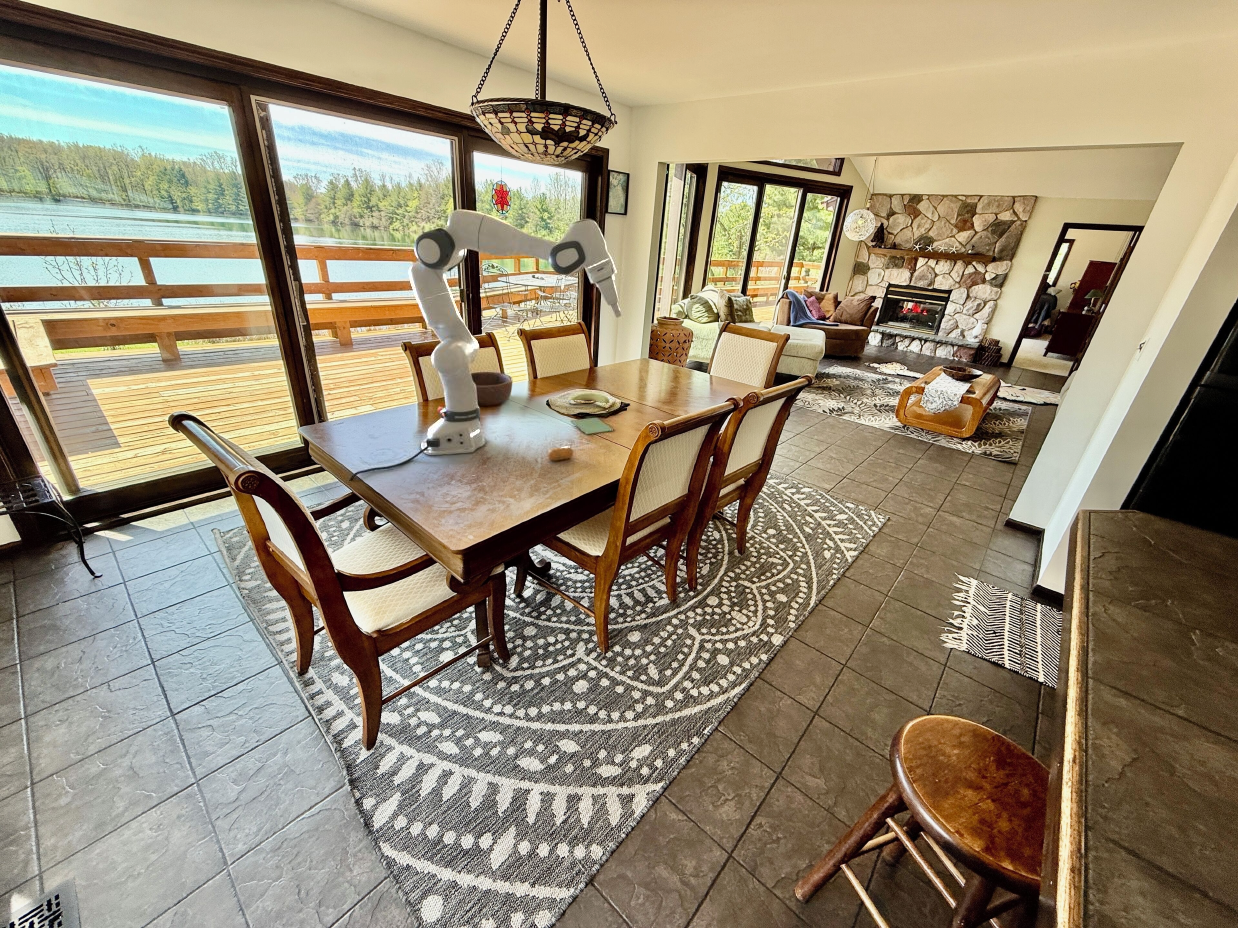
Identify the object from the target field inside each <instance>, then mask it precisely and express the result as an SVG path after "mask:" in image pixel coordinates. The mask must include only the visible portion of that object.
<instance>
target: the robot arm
mask: <svg viewBox="0 0 1238 928" xmlns="http://www.w3.org/2000/svg"><path fill="white" fill-rule="evenodd" d="M467 250H472V251H474V252H475V251H476V252H479V253H482V254H486V255H489V256H497V257H510V256H527V257H532V258H534V259H539V260H542V261H545V262H549V265H550V267H551V269H552V270H553V271H554V272H555V273H556V274H559V275H561V276H569V275H573V274H574V275H575V274H578V273H580V272H581V271H582V270H583V269H584V270H585V272H586V274H587V277H588V279H589V282H590V284H591V285H592V284H595V286H596V288H598V290H599V292H600V294H601V295H602V297H603V299H604V301H605V302H606V304H607V305H608V306H610V307H611V310H612V311H613V314H614V316H615V317H616V318H620V317H621V316H622V313H621V310H620V307H619V304H618V302H620V301H619V296H618V291H617V288H616V285H615V280H616V278H615V274H617V269H616V267H615V264H614V261H613V259H612V257H611V255H610V253H609V252H608V249H607V243H606V241H605V238H604V235H603V233H602V231H601V229H600V227H599V225H598V223H597V222H596V221H595V220H594V219H591V218H584V219H580V220H576V221H573V222H572V223H570V225H569V228H568V229H567V231H566V232H565V234H564V235H563V237H561V239H560V240H559V241H553V240H549V239H545V238H542V237H539V236H535V235H532V234H529V233H528V232H525V231H523V230H521V229H520V228H518V227H516V226H514V225H512V224H510V223H508V222H507V221H505V220H504V219H503V220H502V218H501V219H500V218H498V217H496V216H493V215H490V214H487V213H484V212H480V211H476V210H468V209H455V210H453V211H452V212H451V213H450V214H449V216H448V219H447V224H446V227H445V228H443V227H438V228H434V229H431V230H430V229H429V230H427V231H424V232H423V233H421V234H420V235H419V236H418V237H416V239H415V242H414V245H413V251H414V255H415V257H416V259H417V261H415V262H414V263H412V265H410V267H409V269H408V275H409V280H410V285H411V287H412V292H413V294H414V296H415V299H416V303H417V304H418V307H419V309H420V311H421V314H422V317H423V319H424V320H425V323H426V325H427V326H428V328H430V329H431V330H432V331H433V332H434V334H435V335H436V337H437V338H438V340H439V341H440V343H439V344H437V345H436V346H435V348H434V350H433V352H432V353H431V357H430V358H431V359H430V360H431V364H432V367H433V368H434V369H435V371H436V372H438V376H439V378H440V381H441V385H442V388H443V394H444V395H443V396H444V403H445V406H444V407H443V406H438V408H437V412H438V413H439V414H440V418H439V419H438V420H437V421H435V422H434V423H433V424H432V425H431V426H429V427H428V429H427V432H426V438H424V439H423V440H422V441H421V444H420V448H421V450H420V451H418V452H417V453H415V454H414V455H413V456H411V457H409V458H408V459H406V460H404V461H402V462H399V463H396V464H392V465H387V466H377V467H372V468H371V467H370V468H367V469H363V470H359V471H356V472H354V473H353V474H352V475H351V476H350V477H349V479H348V481H349V482H351V481H353V480H354V478H355V477H356V476H357V475H360V474H364V473H368V472H369V473H370V472H374V471H379V470H388V469H392V468H393V469H394V468H398V467H399V466H402V465H405V464H407V463H410V461H413V460H414V459H416V458H417V457H419V456H420V455H421V454H422V453H424V454H425V455H428V456H440V455H442V456H443V455H453V454H454V455H455V454H467V453H468V454H469V453H470V454H471V453H474V452H475V451H476V450H477V449H480V448H481V447H484V445H485V444H486V439H485V437H484V433H483V430H482V427H481V409H480V406H478V403H477V391H476V385H475V383H474V382H473V379H472V376H471V373H472V372H471V365H472V364H473V363H474V362H475V361H476V360H477V358H478V355H479V352H480V345H479V343H478V340H477V339H476V338H475V337H474V336H473V335H472V334H471V332H470V330H469V329H468V327H467V326H466V323H465V322H464V320H463V319H462V317H461V314H460V312H459V310H458V308H457V305H456V303H455V299H454V298H453V294H452V292H451V290H450V287H449V284H448V281H447V277H446V275H447V272H451V271H453V270H454V269H455V268H456V267H458V266H459V265H460V264H461V263H462V262H463V261H464V260H465V258H466V256H467Z"/></svg>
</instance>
